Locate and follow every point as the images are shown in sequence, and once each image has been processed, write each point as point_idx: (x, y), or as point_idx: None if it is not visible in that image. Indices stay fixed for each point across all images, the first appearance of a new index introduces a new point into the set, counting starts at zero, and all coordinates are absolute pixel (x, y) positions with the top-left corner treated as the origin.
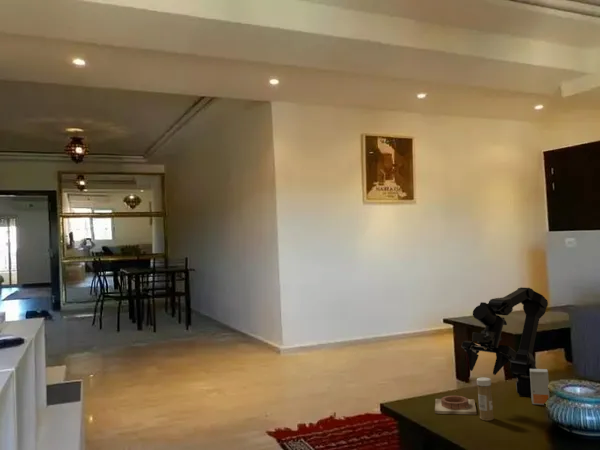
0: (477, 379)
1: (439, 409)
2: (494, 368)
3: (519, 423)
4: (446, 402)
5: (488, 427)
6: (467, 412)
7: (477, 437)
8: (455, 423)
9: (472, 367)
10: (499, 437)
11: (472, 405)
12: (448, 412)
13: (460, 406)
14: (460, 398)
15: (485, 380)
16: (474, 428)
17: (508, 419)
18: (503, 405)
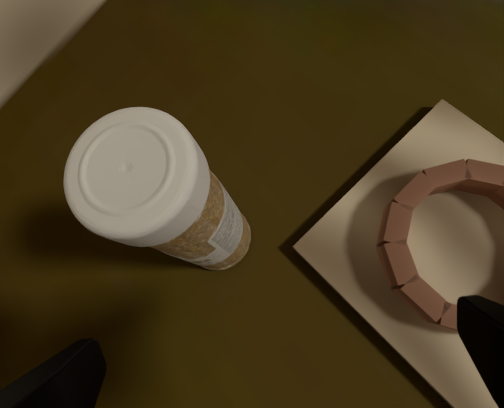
0: (165, 116)
1: (444, 128)
2: (30, 381)
3: (80, 300)
4: (454, 161)
5: None
6: (325, 214)
7: (118, 57)
8: (272, 92)
9: (488, 359)
10: (63, 114)
11: (387, 318)
12: (393, 149)
13: (385, 215)
14: None
15: (80, 136)
16: (180, 110)
17: (143, 309)
18: None
